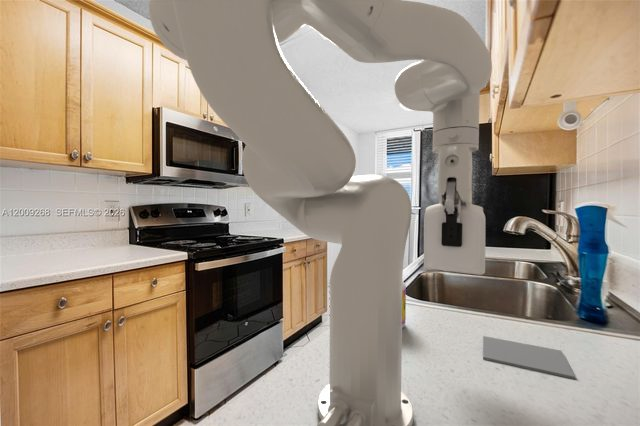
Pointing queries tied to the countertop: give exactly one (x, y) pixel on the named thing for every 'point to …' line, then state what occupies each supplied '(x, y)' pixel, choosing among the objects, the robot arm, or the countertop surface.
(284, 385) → the countertop surface
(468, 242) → the photo printer
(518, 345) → the mat
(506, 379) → the countertop surface
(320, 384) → the countertop surface
